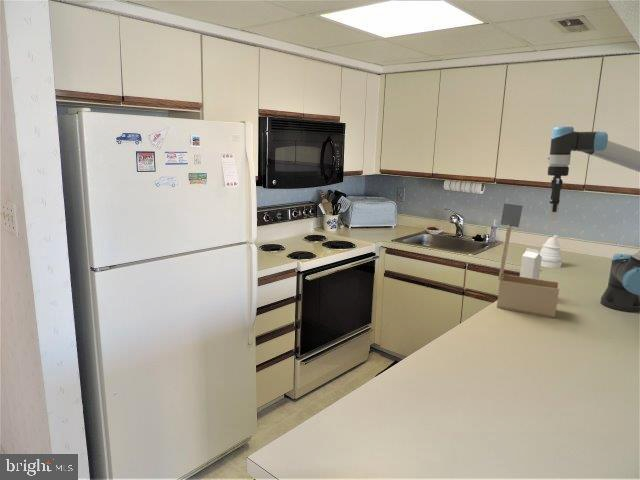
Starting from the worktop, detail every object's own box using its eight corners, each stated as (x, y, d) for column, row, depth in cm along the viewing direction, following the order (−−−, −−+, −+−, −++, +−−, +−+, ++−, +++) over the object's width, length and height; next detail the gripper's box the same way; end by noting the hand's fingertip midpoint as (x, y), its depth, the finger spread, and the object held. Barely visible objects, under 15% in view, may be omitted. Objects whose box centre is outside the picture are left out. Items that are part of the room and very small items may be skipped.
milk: (529, 298, 203) (536, 251, 198) (517, 295, 207) (522, 248, 203) (536, 296, 206) (543, 249, 202) (524, 292, 211) (530, 247, 206)
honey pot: (565, 266, 263) (569, 236, 259) (553, 269, 255) (557, 238, 252) (544, 261, 273) (548, 232, 269) (532, 263, 266) (536, 234, 262)
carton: (555, 309, 190) (559, 282, 187) (554, 318, 180) (559, 289, 178) (499, 300, 200) (503, 274, 197) (496, 307, 190) (499, 280, 188)
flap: (523, 203, 189) (506, 201, 192) (521, 206, 179) (502, 204, 182) (510, 275, 196) (493, 271, 199) (507, 282, 186) (489, 278, 189)
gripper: (547, 164, 195) (542, 213, 199) (549, 166, 173) (543, 221, 177) (567, 165, 192) (561, 214, 196) (571, 167, 170) (564, 222, 174)
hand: (552, 217), depth 187 cm, fingers open, 13 cm apart
